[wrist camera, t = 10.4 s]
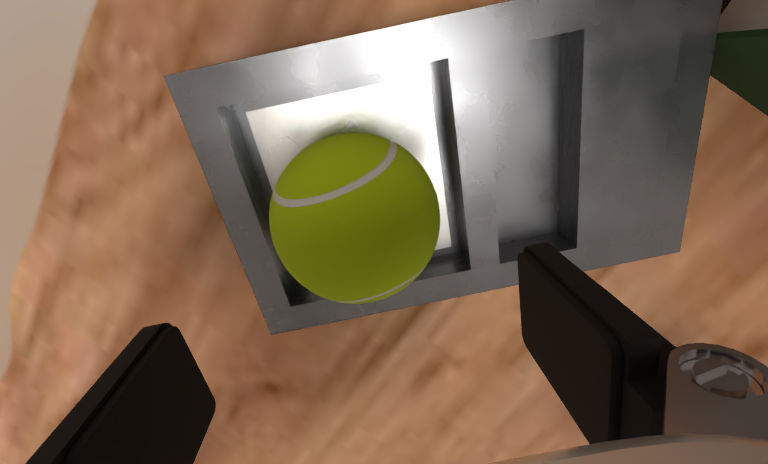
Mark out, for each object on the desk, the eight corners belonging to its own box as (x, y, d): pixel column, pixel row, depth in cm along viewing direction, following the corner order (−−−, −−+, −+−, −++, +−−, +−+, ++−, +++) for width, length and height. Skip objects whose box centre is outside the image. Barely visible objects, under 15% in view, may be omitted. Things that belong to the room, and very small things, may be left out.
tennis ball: (439, 228, 20) (480, 304, 14) (319, 270, 20) (304, 363, 14) (398, 99, 17) (426, 120, 11) (260, 152, 17) (207, 201, 11)
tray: (641, 229, 22) (679, 251, 19) (281, 303, 22) (271, 334, 20) (672, -30, 16) (730, -48, 14) (192, 74, 17) (163, 75, 14)
